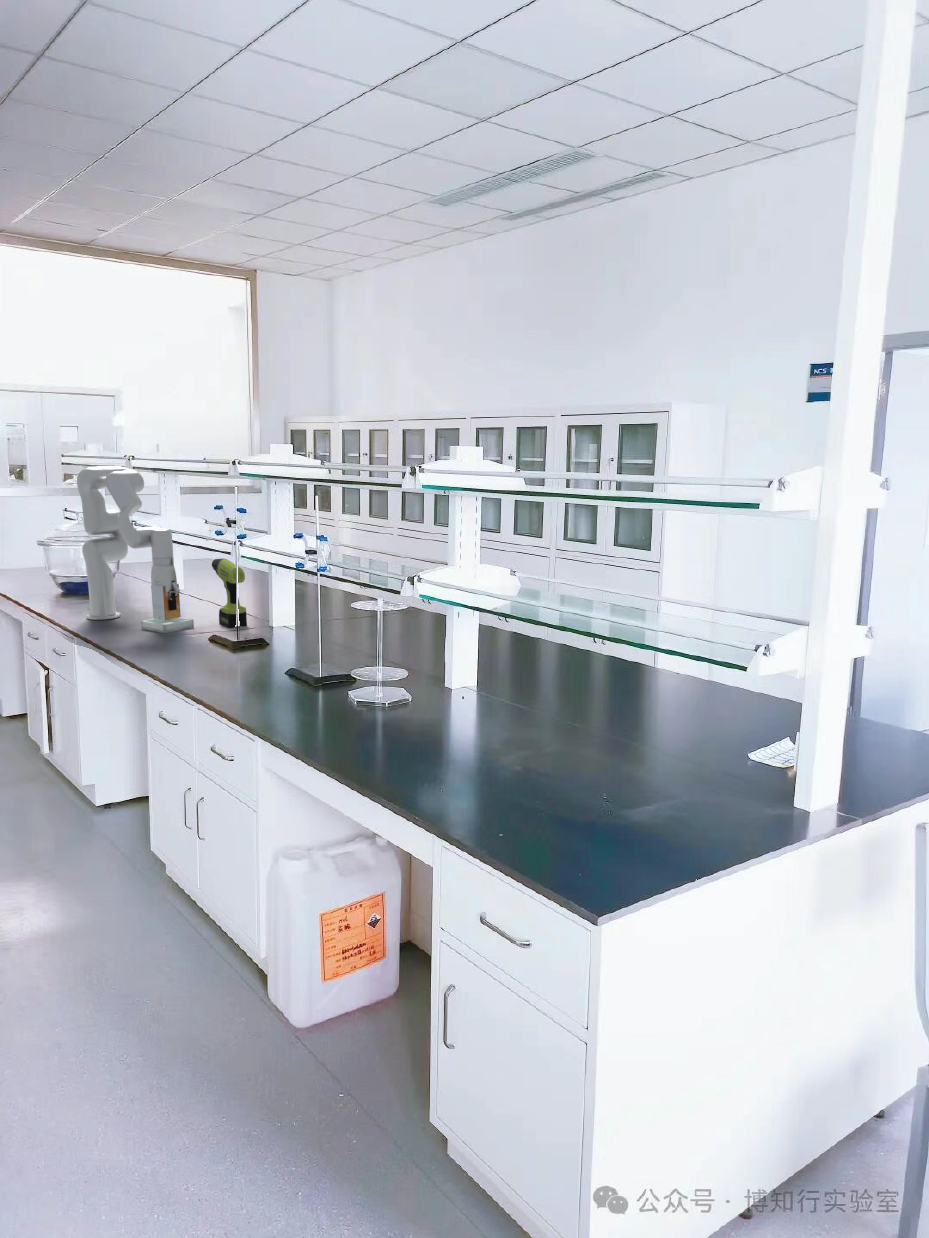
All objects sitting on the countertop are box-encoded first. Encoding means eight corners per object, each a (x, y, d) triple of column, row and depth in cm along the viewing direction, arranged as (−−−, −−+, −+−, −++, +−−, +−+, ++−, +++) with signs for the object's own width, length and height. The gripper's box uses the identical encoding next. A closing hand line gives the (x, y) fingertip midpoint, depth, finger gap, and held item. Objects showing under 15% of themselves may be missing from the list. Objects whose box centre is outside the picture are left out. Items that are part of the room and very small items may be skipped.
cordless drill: (208, 620, 360) (204, 557, 355) (225, 617, 364) (221, 555, 359) (232, 629, 342) (228, 563, 337) (249, 626, 346) (246, 561, 341)
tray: (141, 628, 344) (141, 621, 343) (170, 623, 354) (170, 615, 354) (164, 633, 336) (164, 625, 335) (193, 627, 346) (193, 619, 345)
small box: (165, 621, 339) (162, 586, 337) (152, 619, 342) (150, 585, 340) (181, 617, 346) (179, 583, 344) (169, 615, 349) (166, 582, 347)
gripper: (140, 561, 342) (143, 608, 345) (169, 564, 332) (172, 612, 336) (157, 559, 348) (160, 605, 351) (186, 562, 338) (189, 609, 341)
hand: (166, 608), depth 343 cm, fingers closed on small box, 6 cm apart
